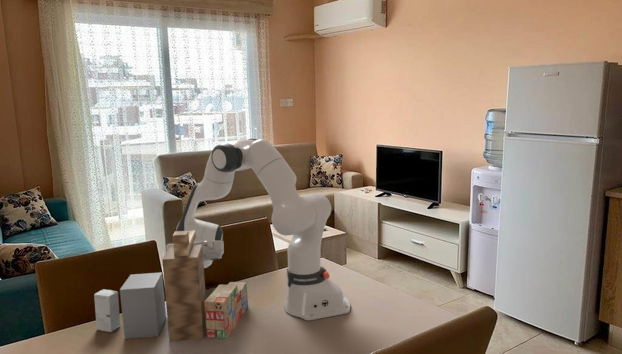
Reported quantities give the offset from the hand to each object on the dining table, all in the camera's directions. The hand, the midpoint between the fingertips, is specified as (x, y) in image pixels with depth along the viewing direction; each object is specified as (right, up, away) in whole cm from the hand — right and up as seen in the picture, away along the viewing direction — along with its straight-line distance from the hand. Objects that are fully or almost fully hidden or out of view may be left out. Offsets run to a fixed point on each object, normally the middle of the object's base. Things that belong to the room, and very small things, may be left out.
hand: (192, 244), depth 155 cm
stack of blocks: (+14, -24, -9) cm, 30 cm away
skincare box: (-24, -26, -12) cm, 37 cm away
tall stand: (+3, -25, -14) cm, 29 cm away
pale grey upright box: (-12, -25, -12) cm, 30 cm away
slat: (+2, +1, -14) cm, 14 cm away
